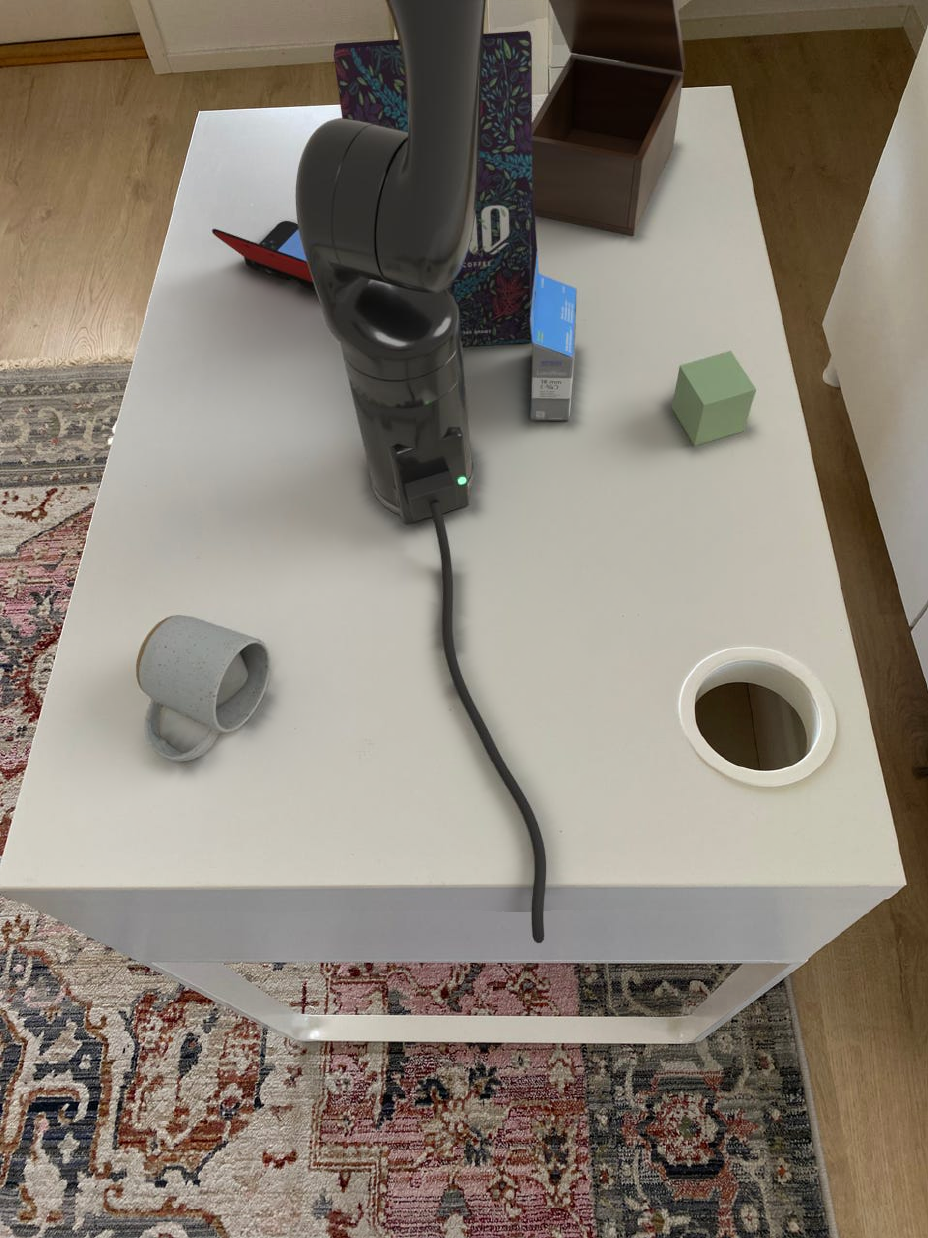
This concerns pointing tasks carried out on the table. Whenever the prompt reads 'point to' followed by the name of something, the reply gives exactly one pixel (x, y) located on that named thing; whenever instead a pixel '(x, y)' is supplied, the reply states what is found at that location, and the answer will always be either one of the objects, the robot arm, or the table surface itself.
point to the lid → (623, 30)
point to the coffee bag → (505, 201)
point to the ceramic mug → (200, 678)
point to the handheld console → (274, 253)
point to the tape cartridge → (552, 347)
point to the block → (713, 398)
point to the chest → (603, 142)
